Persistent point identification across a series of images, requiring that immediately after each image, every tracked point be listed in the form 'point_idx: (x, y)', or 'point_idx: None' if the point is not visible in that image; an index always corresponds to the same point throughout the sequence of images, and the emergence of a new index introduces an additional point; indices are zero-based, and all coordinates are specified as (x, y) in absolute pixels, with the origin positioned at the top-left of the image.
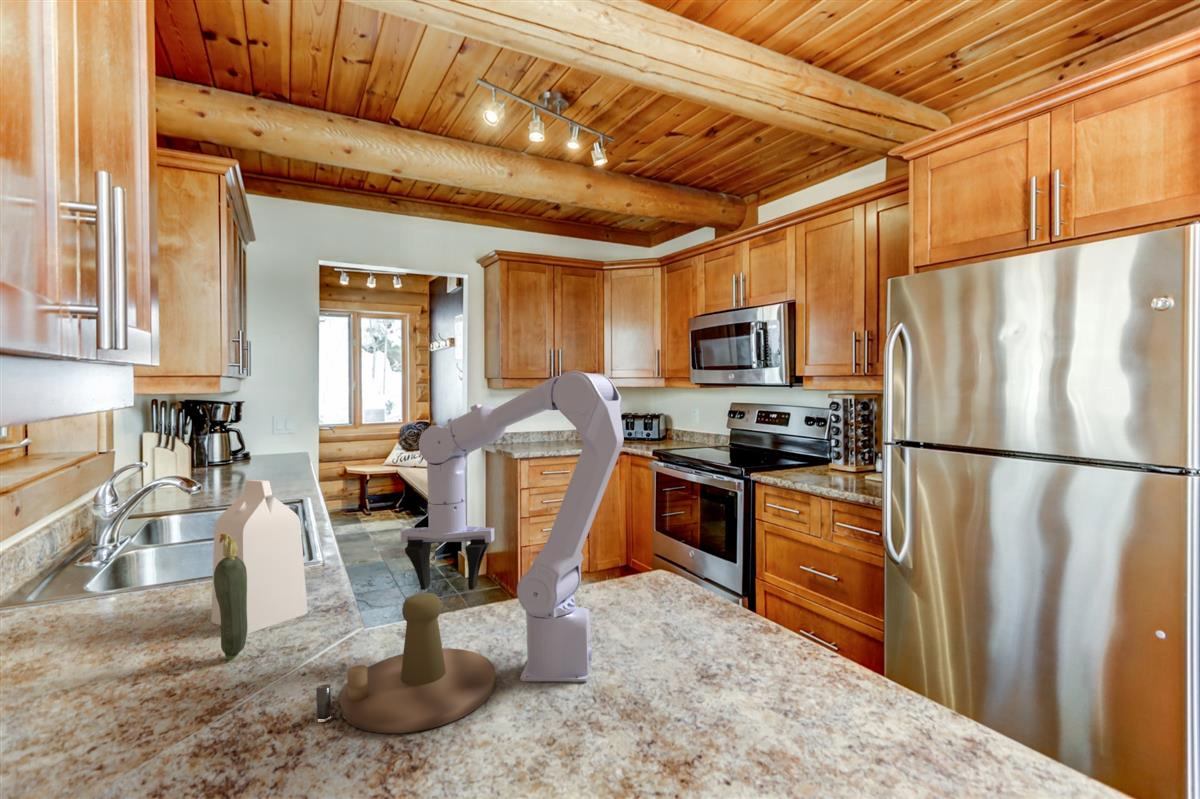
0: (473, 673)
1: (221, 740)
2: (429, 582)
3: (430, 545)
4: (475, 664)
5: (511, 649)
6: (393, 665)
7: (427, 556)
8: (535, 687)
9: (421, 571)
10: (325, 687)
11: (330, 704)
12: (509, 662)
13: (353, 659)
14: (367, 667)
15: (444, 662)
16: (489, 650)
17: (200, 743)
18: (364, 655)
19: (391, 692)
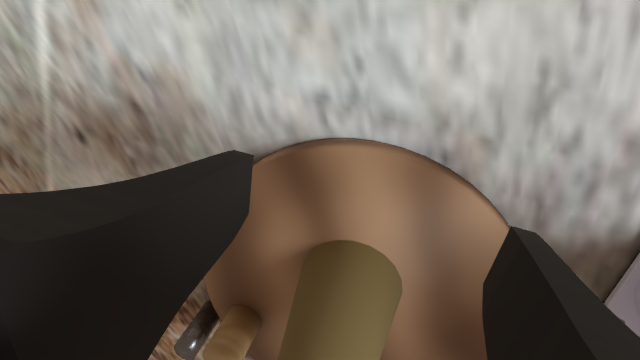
0: (472, 315)
1: None
2: (245, 163)
3: (66, 251)
4: (480, 275)
5: (622, 118)
6: (267, 220)
7: (139, 263)
8: None
9: (186, 292)
10: (188, 353)
11: (211, 329)
12: (590, 207)
13: (142, 81)
14: None
15: (396, 293)
16: (536, 108)
17: None
18: (158, 60)
19: None
